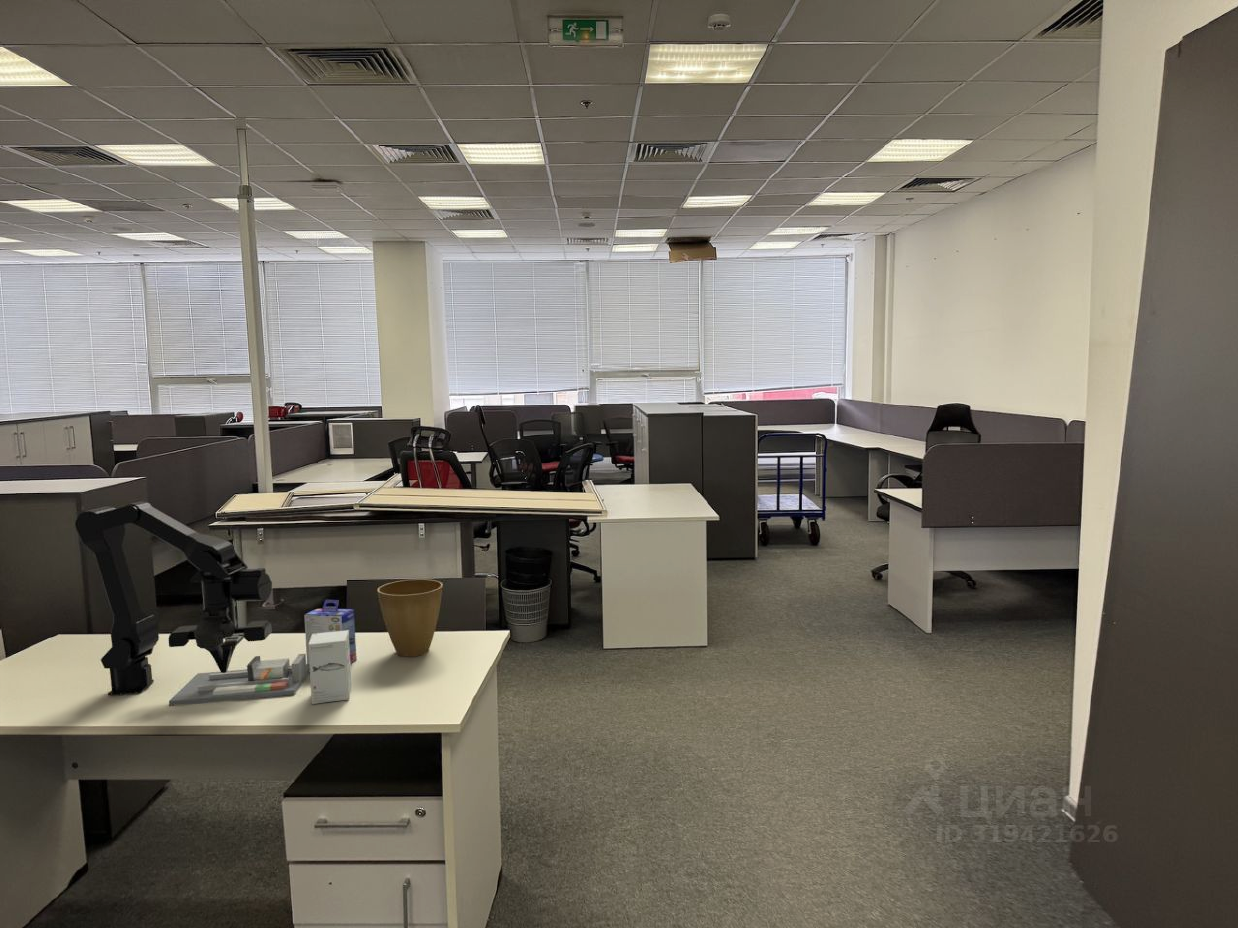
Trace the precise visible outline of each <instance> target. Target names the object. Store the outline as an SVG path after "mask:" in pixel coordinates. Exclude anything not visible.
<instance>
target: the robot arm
mask: <svg viewBox="0 0 1238 928" xmlns="http://www.w3.org/2000/svg"><path fill="white" fill-rule="evenodd" d="M127 524H133V525H135V526H137V527H138V528H140V529H142V530H144V531H146V532H148V533H149V534H150V535H153V536H155V537H156V538H158V539H160V540H162V541H163V542H165V543H167V544H169V545H170V546H172V547H174V548H176V549H177V550H179V551H181V552H182V553H183V554H184V556H185V557H186V559H187V561H188V562H189V563H190V564H192V565H193V566H194V567H195V568H196V569H198V571H197V573H196V574H195V575H194V576H193V577H191V579H190V582H192V583H201V589H202V590H201V591H202V599H203V600H202V601H203V604H202V605H203V609H202V610H201V619H200V622H198V624H197V625H196V624H195V625H194V624H193V625H184V626H183V625H180V626H179V627H177V628H176V629H175V630H173V631H172V632H171V633H170V634H169V636H168V646H169V647H170V648H175V647H176V648H177V647H185V646H186V645H187V644H188V643H189V642H190V640H191V641H193V640H195V642H196V643H195V644H196V646H197V647H198V648H200V649H204V650H206V652H207V651H208V652H209V654H210V655H211V656H212V658H213V660H214V661H215V664H216V665H217V667H218V669H219V672H221V673H226V672H227V671H229V670H228V669H229V667H230V663H231V660H232V657H233V654H234V651H235V649H236V647H237V645H239V644H240V643H241V642H242V640H245V641H247V642H261V641H264V640H266V639H267V638H268V637H269V636H270V635H271V634H272V632H273V628H272V623H271V622H270V621H269V620H258V621H257V620H256V621H255V620H254V621H253V620H252V621H250V622H249V623H248V624H247V625H246V626H240V627H239V626H238V627H237V625H238V619H236V609H235V607H237V602H265V601H267V600H268V599H269V598H270V596H271V594H272V590H273V589H272V588H273V581H272V580H271V578H270V575H269V574H268V573H267V572H266V568H265V567H258V568H249V567H248V565H247V564H246V563H245V562H244V560H242V557H240V556H239V554H237V552H236V551H235V546H234V544H232V542H230V541H228V540H225V539H222V538H221V537H217V536H215V535H208V534H204V533H200V532H198V531H195V530H193V529H192V528H191V527H188V526H187V525H185V524H184V523H182V522H180V521H178V520H176V519H174V518H173V517H172V516H169V515H168V514H165V513H164V512H162V511H161V510H159V509H157V508H155V507H153V506H152V504H151V503H149V502H146V501H136V502H132V503H129V504H126V505H125V506H123V507H118V508H115V507H113V506H103V507H99V508H95V509H90V510H87V511H83V512H80V514H79V515H78V516H77V518H76V519H75V520H74V529H75V530H76V532H77V534H78V537H79V538H80V540H81V542H82V543H83V545H84V546H86V548H87V549H89V550H90V551H91V552H92V553H93V554H94V557H95V560H96V564H97V568H98V569H99V573H100V577H101V580H102V583H103V587H104V589H105V593H106V596H107V600H108V603H109V606H110V609H111V612H112V615H113V622H112V627H111V630H110V640H111V647H110V649H108V651H107V652H105V654H104V655H103V656H102V657H101V658H100V662H101V664H102V666H103V668H104V669H109V674H110V685H111V690H109V692H108V693H107V696H109V695H110V696H121V695H129V694H131V695H132V694H141V693H143V692H144V691H145V690H146V689H147V688H149V686H150V685H152V684H153V683H154V682H155V680H154V679H153V672H152V665H151V664H150V663H149V658H148V656H150V655H151V654H153V650H154V647H156V645H157V643H158V641H159V640H160V636H159V633H161V629H160V628H159V626H158V624H157V617H156V614H151V615H149V616H148V615H147V614H146V613H145V612H144V611H143V610H142V609H141V606H140V602H139V599H138V596H137V593H136V588H135V586H134V583H133V580H132V576H131V572H130V569H129V566H128V563H127V560H126V556H125V553H124V550H123V542H124V538H125V533H126V529H125V528H126V527H125V525H127ZM228 566H229V567H228ZM248 568H249V569H248ZM120 694H121V695H120Z"/></svg>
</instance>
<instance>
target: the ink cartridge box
mask: <svg viewBox="0 0 1238 928" xmlns="http://www.w3.org/2000/svg"><path fill="white" fill-rule="evenodd" d="M339 602H340V600H339V599H325V600H324V602H323V606H322V608H316V609H313V610H311V611H308V612H307V613H305V614H304V615H303V616H304V617H303V618H304V632H305V634H304V635H305V649H306V650H305V651H306V653H305V654H306V664H309V648H308V644H309V641H310V639H311V636H312V634H316V633H326V632H337V631H346V630H349V647H350V664H352V663H354V662H355V660H356V661H357V642H356V629H355V628H356V626H355V610H354V608H353V609H349V608H339V604H340V603H339ZM331 603H332V604H334V606H331V605H327V604H331Z"/></svg>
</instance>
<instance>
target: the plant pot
mask: <svg viewBox="0 0 1238 928" xmlns="http://www.w3.org/2000/svg"><path fill="white" fill-rule="evenodd" d="M443 586H444V585H443V582H441V581H438V580H434V579H425V578H423V579H422V578H420V579H419V578H417V579H416V578H415V579H414V578H413V579H403V580H398V581H396V580H395V581H393V582H389V583H385V584H383V585H381V586H379V587H378V588H377V597H378V600H379V605H380V610H381V613H382V618H383V622H384V623H385V628H386V631H387V632H388V635H389V638H390V642H391V644H392V646H393V648H394V650H395V652H396V654H397V655H398V656H400V657H405V658H411V657H418V655H419V656H423V655H424V653H425V654H427V653H428V651H430V648H431V645H432V642H433V639H434V635H435V632H436V627H437V625H438V624H437V623H438V620H439V614H440V608H441V603H442V594H443ZM426 652H427V653H426ZM422 654H423V655H422Z"/></svg>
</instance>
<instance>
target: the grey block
mask: <svg viewBox="0 0 1238 928" xmlns="http://www.w3.org/2000/svg"><path fill="white" fill-rule="evenodd" d="M290 666H291V665H290V658H280V659H279V658H278V659H266V660H261V655H258V656H257V655H256V656H255V655H254V657H252V659H251V660H250V661H249V663H248V664H247V665H246V669H247V672H248V681H258V680H269V679H281V678H286V677H287V675H288V674H289V673H290Z"/></svg>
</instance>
